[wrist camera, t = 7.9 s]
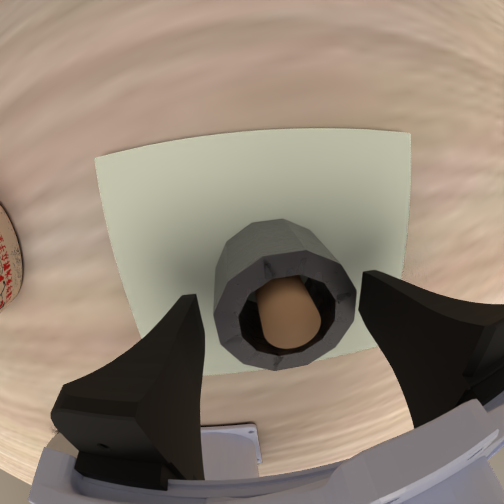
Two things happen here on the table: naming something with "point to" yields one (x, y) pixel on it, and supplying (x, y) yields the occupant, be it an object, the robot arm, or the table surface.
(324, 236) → the pegged green plate
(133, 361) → the robot arm
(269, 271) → the collar
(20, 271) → the teacup with lid
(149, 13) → the table surface
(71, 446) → the bent grey cylinder
